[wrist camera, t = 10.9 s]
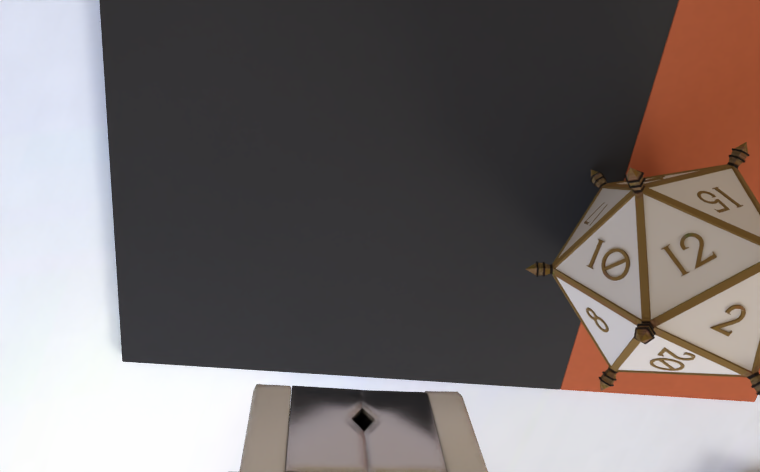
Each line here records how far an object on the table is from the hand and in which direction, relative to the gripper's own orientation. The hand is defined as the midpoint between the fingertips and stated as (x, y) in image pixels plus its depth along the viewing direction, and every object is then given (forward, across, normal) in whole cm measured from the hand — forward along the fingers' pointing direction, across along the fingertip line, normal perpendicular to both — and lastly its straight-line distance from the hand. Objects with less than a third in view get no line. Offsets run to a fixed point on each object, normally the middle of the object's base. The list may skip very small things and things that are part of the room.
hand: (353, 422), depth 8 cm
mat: (+15, -7, 0) cm, 16 cm away
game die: (+14, -12, +2) cm, 19 cm away
